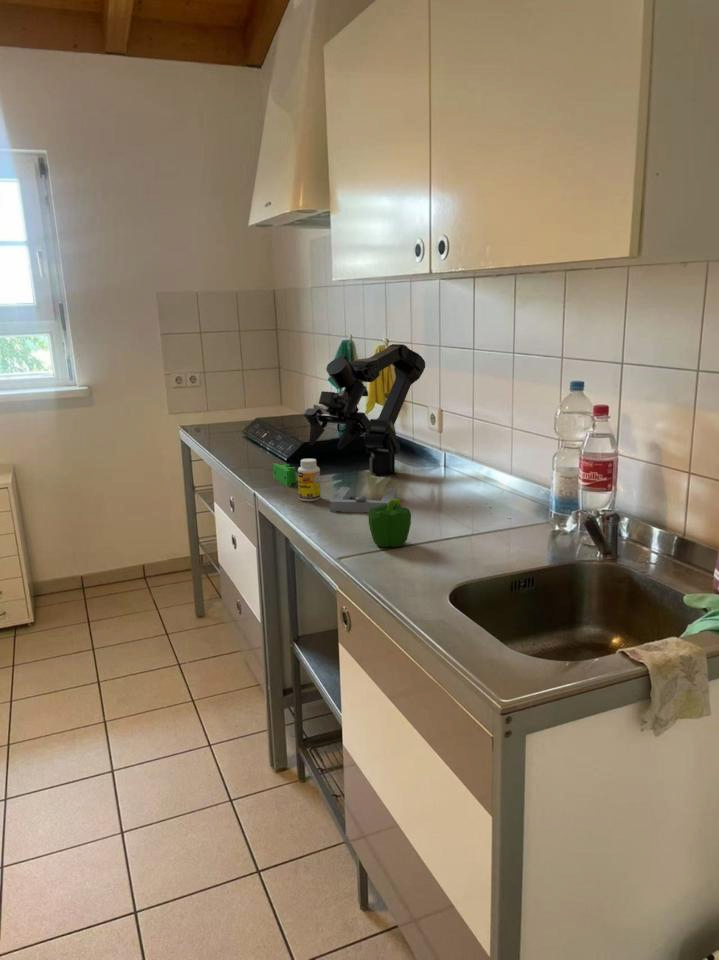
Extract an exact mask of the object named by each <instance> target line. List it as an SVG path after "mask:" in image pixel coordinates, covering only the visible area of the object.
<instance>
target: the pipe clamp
mask: <svg viewBox="0 0 719 960" xmlns="http://www.w3.org/2000/svg"><path fill="white" fill-rule="evenodd" d="M272 473H273V474H272V475H273V476H272V477H273V479H274V480H275V479H276V480H275V481H277V480H278V481H277V482H279V481H280V482H281V483H280V482H279V483H280V484H282V483H283V484H282V485H284V484H285V485H286V486H285V485H284V486H285V487H287V486H289V487H292V484H296V483H297V478H296V477H297V472H296V467H295V466H293V467H292V466H291V465H290V464H279V463H272ZM295 482H296V483H295Z"/></svg>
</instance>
